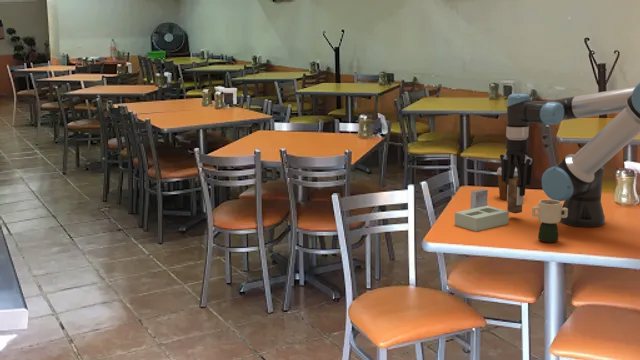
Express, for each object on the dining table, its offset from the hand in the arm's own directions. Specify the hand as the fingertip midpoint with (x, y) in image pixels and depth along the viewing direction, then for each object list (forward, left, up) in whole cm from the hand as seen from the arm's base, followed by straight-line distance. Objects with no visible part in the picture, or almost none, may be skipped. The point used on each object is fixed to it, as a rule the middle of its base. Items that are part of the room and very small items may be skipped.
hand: (515, 203), depth 260 cm
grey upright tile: (+12, +6, -6) cm, 14 cm away
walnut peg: (0, 0, -3) cm, 3 cm away
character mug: (-24, +12, -6) cm, 28 cm away
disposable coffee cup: (+22, -21, -6) cm, 31 cm away
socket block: (+2, +15, -6) cm, 16 cm away
